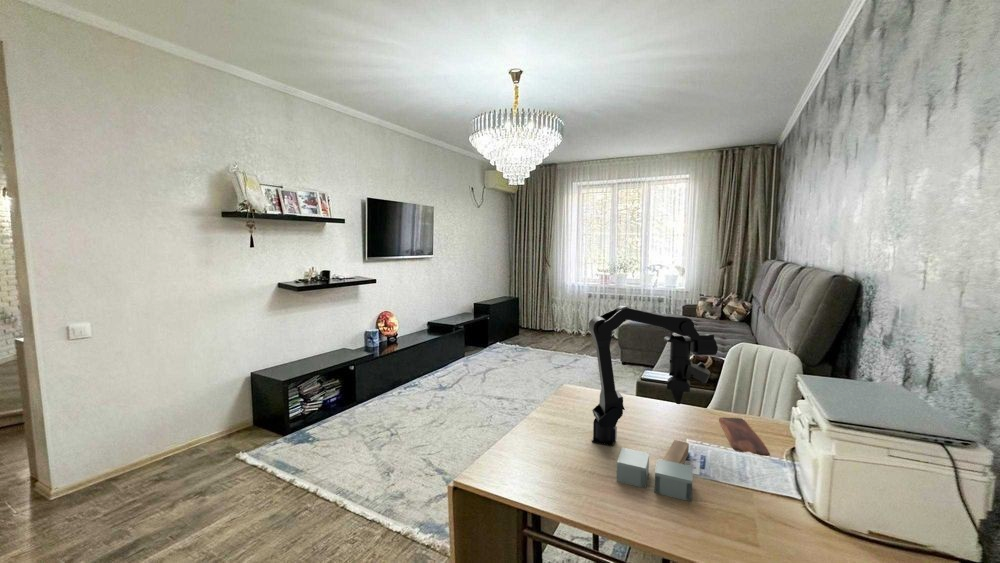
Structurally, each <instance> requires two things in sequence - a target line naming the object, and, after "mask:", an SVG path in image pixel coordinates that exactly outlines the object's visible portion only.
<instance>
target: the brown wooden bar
mask: <svg viewBox="0 0 1000 563" xmlns="http://www.w3.org/2000/svg"><path fill="white" fill-rule="evenodd" d="M689 444H690V443H688V442H685V441H681V440H677V439H673V441H672V443H671V445H670V446H669V448H668V450H667V452H666V453H665V455H664V457H663V458H662V460H666V461H670V462H675V463H680V464H684V463H685V461H686V459H687V457H688V455H689V447H690V445H689Z"/></svg>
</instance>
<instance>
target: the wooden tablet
mask: <svg viewBox="0 0 1000 563" xmlns="http://www.w3.org/2000/svg"><path fill="white" fill-rule="evenodd" d="M718 422H719V424H720V426H721V427H722V430H723V432H724V433H725V436H726V438H727V439H728V441H729V444H730V446H731V447H732V448H733V450H734V451H736V452H742V453H751V454H756V455H759V456H760V455H761V456H769V455H770V451H769V449H768V448H767V447H766V445H765V443H764V441H762V440H763V439H761V438H760V436H758V434H757V433H756V431H755V430H754V429H753V428H752V426H750V424H748V422H747V421H746V420H745V419H743V418H740V417H725V416H723V417H719V419H718Z"/></svg>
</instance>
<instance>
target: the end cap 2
mask: <svg viewBox="0 0 1000 563" xmlns="http://www.w3.org/2000/svg"><path fill="white" fill-rule="evenodd" d="M692 492H693V465H688V464H680V463H675V462H670V461H666V460H663V459H661V458H657V459H656V465H655V469H654V493H655V494H658V495H662V496H667V497H671V498H675V499H678V500H679V499H680V500H683V501H687V502H691V503H692V497H693V493H692Z"/></svg>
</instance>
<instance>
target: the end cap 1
mask: <svg viewBox="0 0 1000 563" xmlns="http://www.w3.org/2000/svg"><path fill="white" fill-rule="evenodd" d="M649 469H650V453H649V452H645V451H641V450H637V449H631V448H626V447H621V449H620V452H619V456H618V458H617V461H616V482H617V483H623V484H627V485H630V486H634V487H639V488H643V489H646V487H647V483H648V476H649V472H650V470H649Z"/></svg>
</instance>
